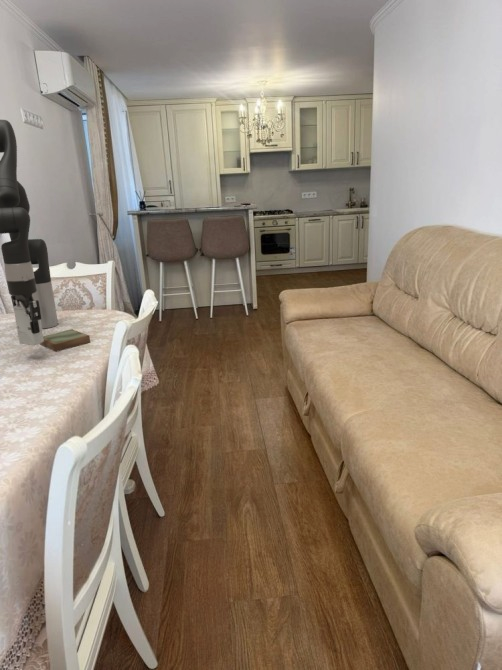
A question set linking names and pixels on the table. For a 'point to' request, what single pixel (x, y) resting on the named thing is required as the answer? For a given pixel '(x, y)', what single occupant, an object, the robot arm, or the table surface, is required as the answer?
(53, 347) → the block
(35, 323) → the robot arm
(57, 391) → the table surface
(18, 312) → the skincare box
